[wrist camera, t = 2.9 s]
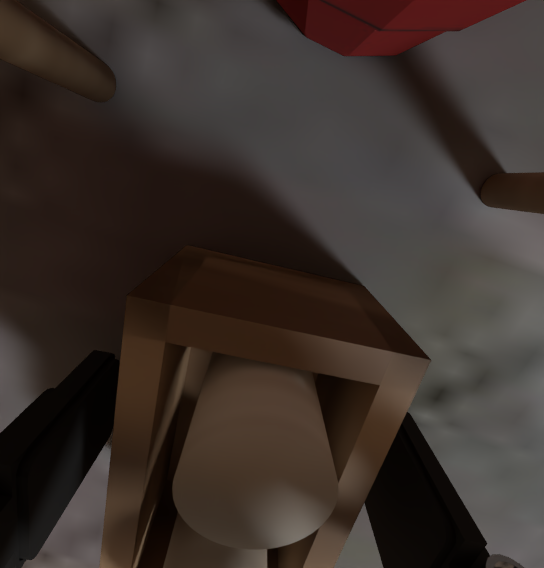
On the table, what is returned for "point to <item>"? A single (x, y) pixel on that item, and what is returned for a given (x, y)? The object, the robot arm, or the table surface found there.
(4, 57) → the tan flanged panel
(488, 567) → the robot arm
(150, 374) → the tray
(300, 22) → the plastic cup
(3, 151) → the table surface
